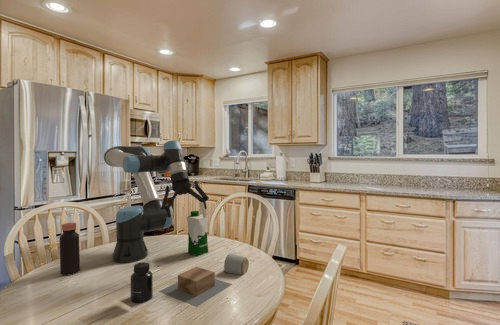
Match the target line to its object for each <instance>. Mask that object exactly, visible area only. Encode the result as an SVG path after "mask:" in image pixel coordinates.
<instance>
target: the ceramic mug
mask: <svg viewBox="0 0 500 325" xmlns="http://www.w3.org/2000/svg"><path fill="white" fill-rule="evenodd" d="M223 269H224V273H227V274H231V275H238V276H243V275H245V274H247V273H248V271H249V258H247V257H246V256H243V255H238V254H234V253H228V254H227V255H226V256H225V260H224V264H223Z"/></svg>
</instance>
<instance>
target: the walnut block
mask: <svg viewBox="0 0 500 325" xmlns="http://www.w3.org/2000/svg"><path fill="white" fill-rule="evenodd" d="M215 274H216V272H215V271H212V270H209V269H206V268H205V269H204V268H201V267H198V266H195V267H193V268H191V269H188V270H186V271H184V272H182V273H180V274H178V275H177V282H178V290H181V291H183V292H186V293H189V294H191V295H194V296H198V295H200V294H202V293H204V292H205V291H207V290H209V289H210V288H212V287H214V286H215V279H216V278H215Z"/></svg>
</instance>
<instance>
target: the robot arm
mask: <svg viewBox="0 0 500 325" xmlns="http://www.w3.org/2000/svg"><path fill="white" fill-rule="evenodd" d="M163 151H164V152H163V153H162V154H160V155H159V154H158V155H157V154H156V155H151V152H150V150H149V149H148V148H147V147H145V146H140V145H137V146H136V145H135V146H130V145H129V146H125V145H124V146H123V145H122V146H121V145H117V146H113V147H110V148H108V149H107V150H106V151H105V152H104V154H103V160H104V163H105V164H106V165H108V166H110V167H112V168H122V169H123V171H124V173H128V174H130V173H131V174H132V175H133V178H134V181H135V184H136V187H137V189H138V192H139V195H140V198H141V201H142V203H143V205H139V204H138V205H130V206H125V207H123V208H121V209H119V210H118V211H116V214H115V216H116V217H115V229H116V235H115V236H116V243H115V247H114V249H113V253H112V261H113V262H115V263H122V264H124V263H132V262H138V261H141V260H143V259H145V258H146V257H148V248H147V245H146V242H145V240H144V233H148V232H152V231H158V230H164V229H168V228H170V227H171V226H175V224H176V223H175V218H174V210H173V206H172V204H173V203H174V201H175V199H176V198H177V196H182V195H187V194H189V195H191V196H192V197H193V198H194V199H196V200H197V201H198V202H200V203H199V205H200V209H201V213H202V214H201V215H203V218H206V217H207V216H208V215H207V211H206V210H207V208H208V207H207V206H208V205H207V203H206V202H207V201H208V200H209V196H208V195H207V194H206V193H205V191H204V190H203V189H202V188H201V187H200V186H199V183H198V181H197V180H195V181H194V182H191V181H190V178H189V173H188V170H187V166H186V162H185V157H184V154H183V148H182V146H181V143H180V141H179V140H168V141H166V142H164V143H163ZM151 172H152V173H153V172H155V173H157V174H159V175H164V174H167V173H169V176H170V178H169V179H170V182H171V186H169V185H166V186H165V187H164V190H165V191H164V192H165V194H164V197H163V199H162V198H161V197H160V195H159V192H158V189H157V187H156V184H155V182H154V180H153V177H152V174H151ZM193 188H194V189H195V191H194V190H193ZM171 190H172V191H173V192H174V194H173V195H172V197H171V199H170V201H169V202H168V203H167V201H168V198H169V197H168V196H169V194H170V192H171ZM166 203H167V204H166Z"/></svg>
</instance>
